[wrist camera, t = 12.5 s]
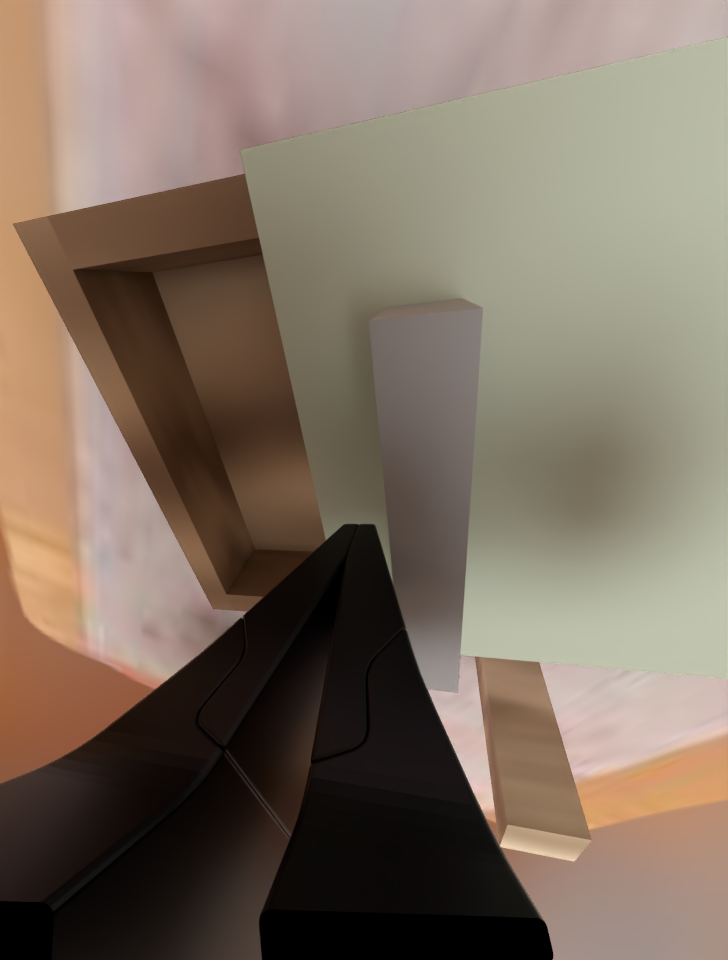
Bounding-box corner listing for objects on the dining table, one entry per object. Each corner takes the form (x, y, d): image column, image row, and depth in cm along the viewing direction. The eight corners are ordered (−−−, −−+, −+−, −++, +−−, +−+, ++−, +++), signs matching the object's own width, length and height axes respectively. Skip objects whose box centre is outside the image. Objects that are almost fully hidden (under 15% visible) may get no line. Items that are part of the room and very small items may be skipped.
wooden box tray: (730, 569, 16) (819, 653, 12) (249, 552, 20) (213, 608, 17) (1045, 70, 8) (1594, -117, 4) (130, 240, 12) (12, 223, 9)
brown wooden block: (522, 656, 21) (574, 861, 14) (474, 652, 22) (499, 846, 14) (528, 628, 20) (591, 840, 12) (477, 624, 21) (507, 824, 13)
